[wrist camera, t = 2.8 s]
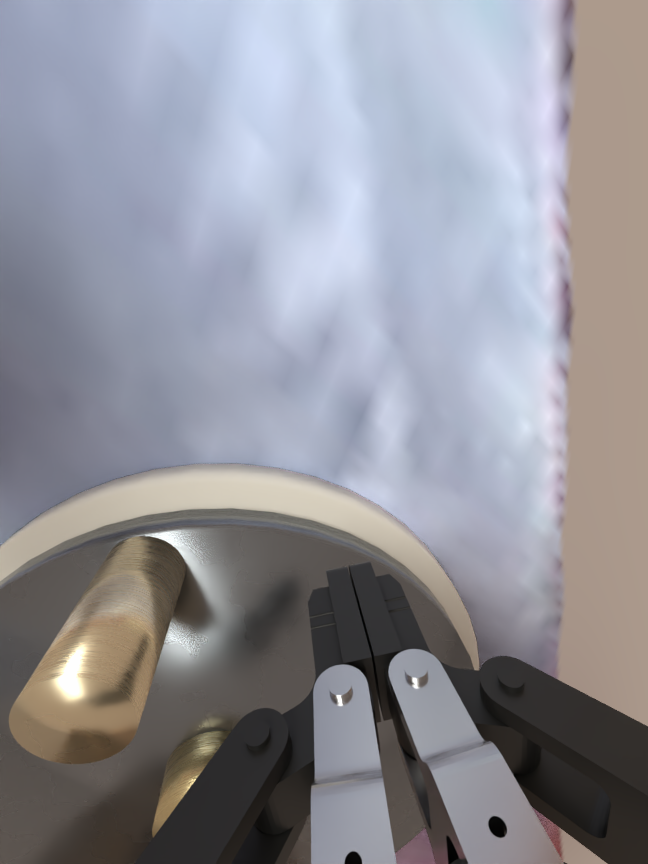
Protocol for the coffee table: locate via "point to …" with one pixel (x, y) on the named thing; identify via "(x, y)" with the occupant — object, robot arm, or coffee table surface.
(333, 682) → the robot arm
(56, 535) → the base plate
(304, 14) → the coffee table surface
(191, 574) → the handwheel
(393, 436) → the coffee table surface
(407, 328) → the coffee table surface
